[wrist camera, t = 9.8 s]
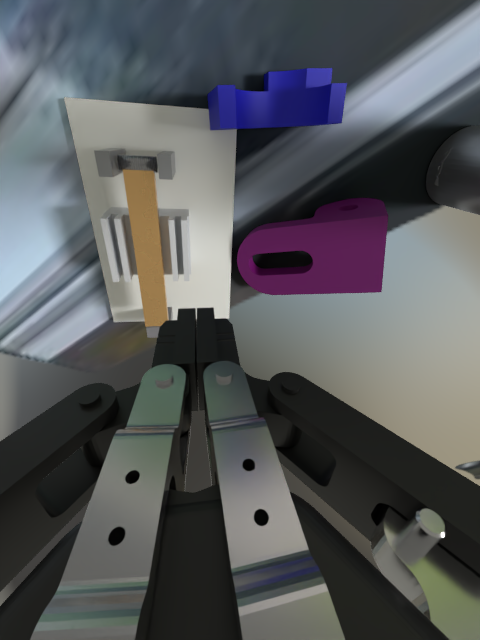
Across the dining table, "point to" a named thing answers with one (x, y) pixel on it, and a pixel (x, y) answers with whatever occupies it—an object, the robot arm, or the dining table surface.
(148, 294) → the wooden strip
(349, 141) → the dining table surface
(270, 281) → the mounting bracket
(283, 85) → the cable clip
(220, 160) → the board
